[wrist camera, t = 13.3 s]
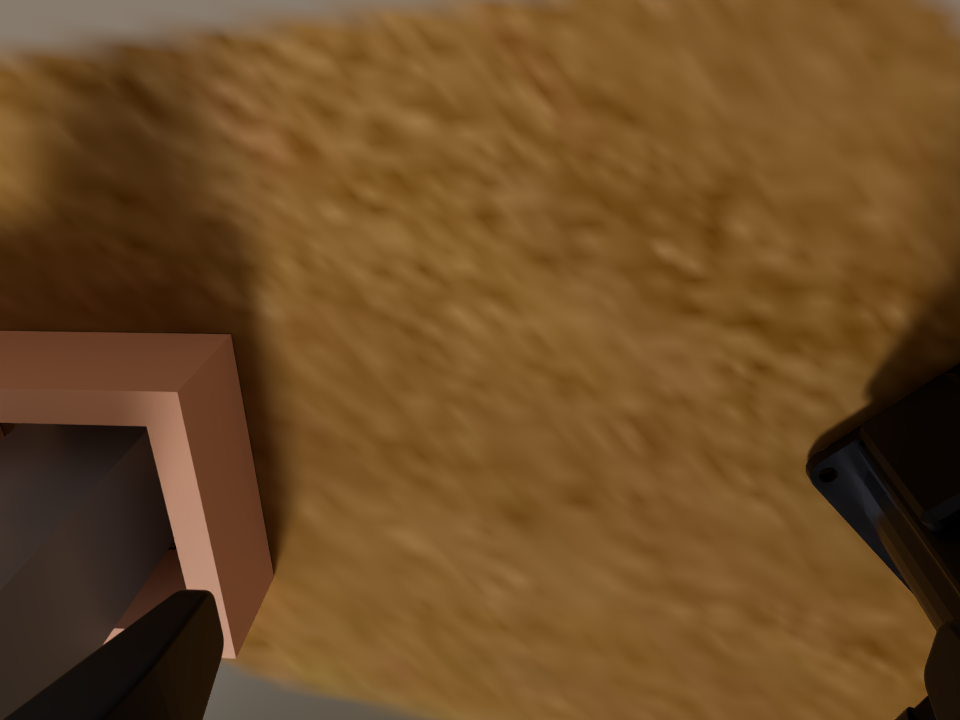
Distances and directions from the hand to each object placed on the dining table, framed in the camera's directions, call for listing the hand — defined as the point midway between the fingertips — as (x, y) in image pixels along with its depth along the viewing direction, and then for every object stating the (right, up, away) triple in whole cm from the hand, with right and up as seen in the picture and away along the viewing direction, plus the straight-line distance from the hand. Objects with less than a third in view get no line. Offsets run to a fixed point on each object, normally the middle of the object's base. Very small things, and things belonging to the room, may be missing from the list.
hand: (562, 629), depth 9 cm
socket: (-13, 0, +14) cm, 19 cm away
